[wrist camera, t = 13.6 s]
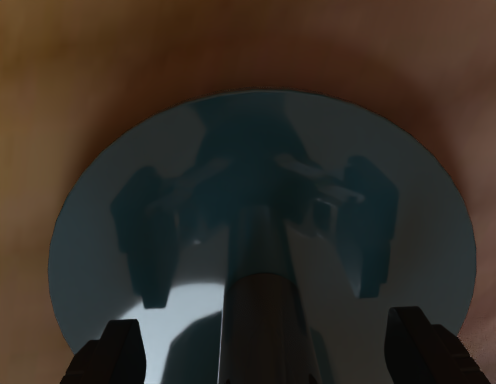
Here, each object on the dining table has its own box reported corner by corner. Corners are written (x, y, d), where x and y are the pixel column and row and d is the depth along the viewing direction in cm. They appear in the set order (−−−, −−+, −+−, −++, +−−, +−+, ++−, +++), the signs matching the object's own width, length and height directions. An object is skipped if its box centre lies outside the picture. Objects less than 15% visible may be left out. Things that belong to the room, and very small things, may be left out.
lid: (107, 421, 16) (30, 643, 10) (12, 96, 10) (-272, 169, 5) (427, 406, 16) (534, 621, 10) (495, 70, 10) (813, 112, 5)
